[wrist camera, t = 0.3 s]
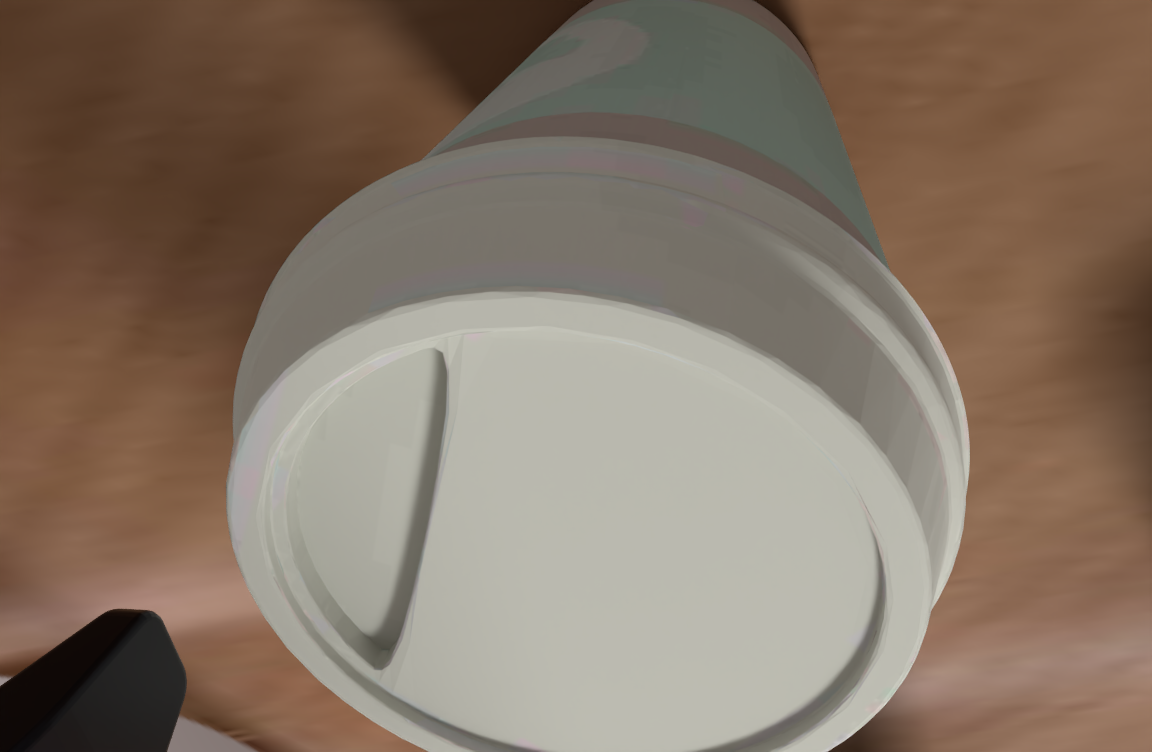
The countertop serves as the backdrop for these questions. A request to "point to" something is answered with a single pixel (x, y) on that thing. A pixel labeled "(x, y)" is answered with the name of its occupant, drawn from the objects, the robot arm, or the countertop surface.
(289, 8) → the countertop surface
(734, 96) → the coffee cup
